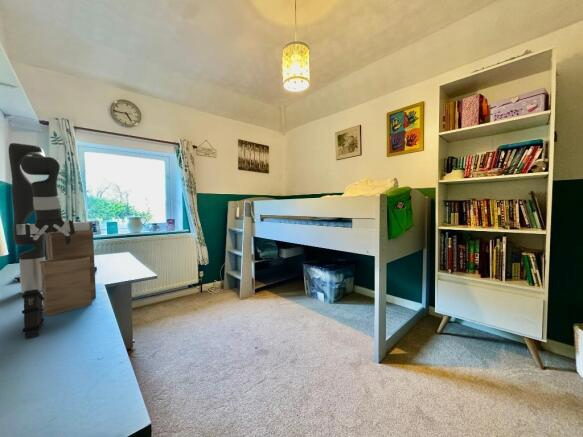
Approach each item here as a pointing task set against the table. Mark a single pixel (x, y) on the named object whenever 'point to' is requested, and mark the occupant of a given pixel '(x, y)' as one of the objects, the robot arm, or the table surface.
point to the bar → (77, 226)
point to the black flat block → (32, 313)
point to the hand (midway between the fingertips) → (53, 246)
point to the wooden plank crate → (68, 272)
